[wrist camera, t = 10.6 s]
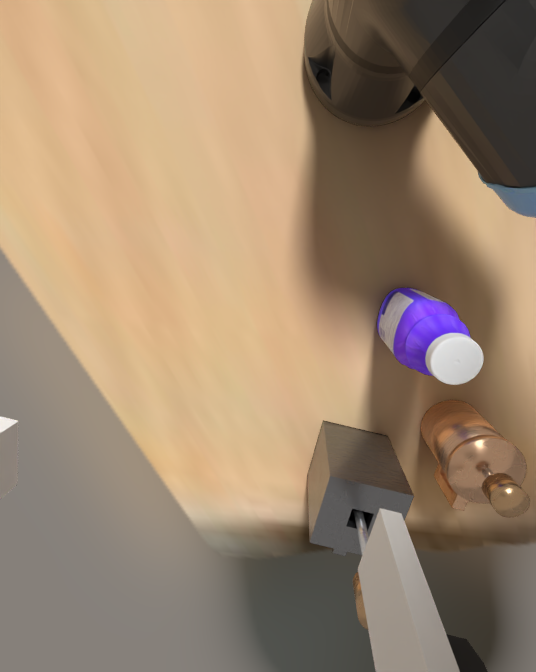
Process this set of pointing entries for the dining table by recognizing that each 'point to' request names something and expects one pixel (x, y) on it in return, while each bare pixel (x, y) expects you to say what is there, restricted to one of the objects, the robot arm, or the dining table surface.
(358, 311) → the dining table surface
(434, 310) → the bottle
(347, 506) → the cube with square hole
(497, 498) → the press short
